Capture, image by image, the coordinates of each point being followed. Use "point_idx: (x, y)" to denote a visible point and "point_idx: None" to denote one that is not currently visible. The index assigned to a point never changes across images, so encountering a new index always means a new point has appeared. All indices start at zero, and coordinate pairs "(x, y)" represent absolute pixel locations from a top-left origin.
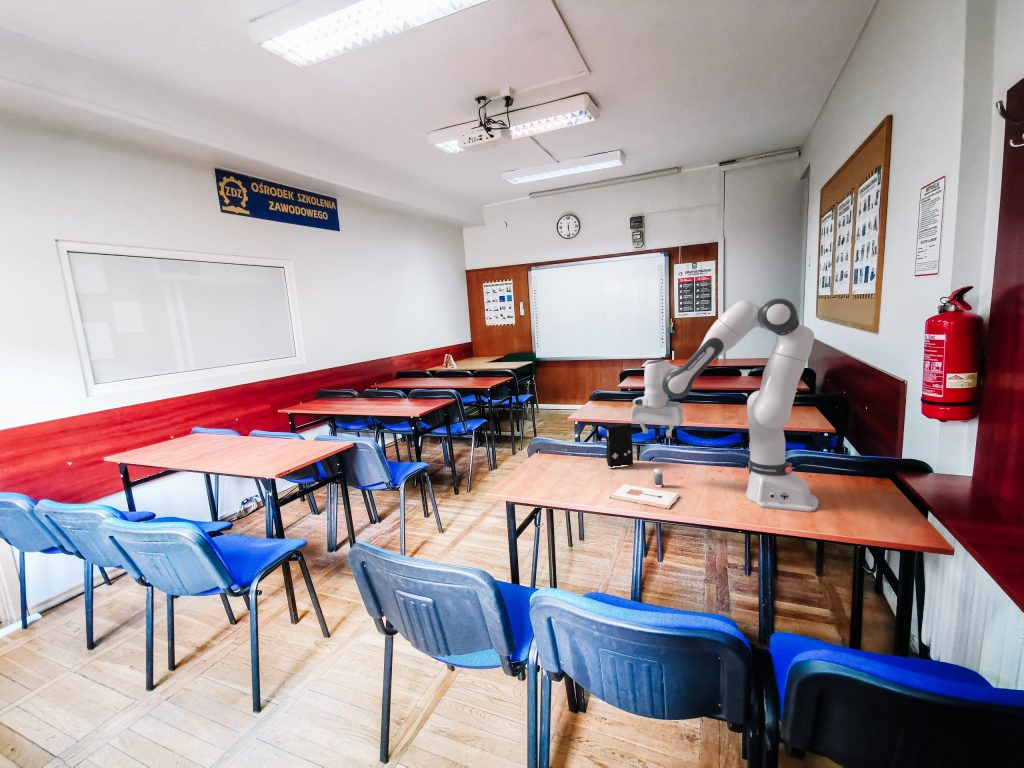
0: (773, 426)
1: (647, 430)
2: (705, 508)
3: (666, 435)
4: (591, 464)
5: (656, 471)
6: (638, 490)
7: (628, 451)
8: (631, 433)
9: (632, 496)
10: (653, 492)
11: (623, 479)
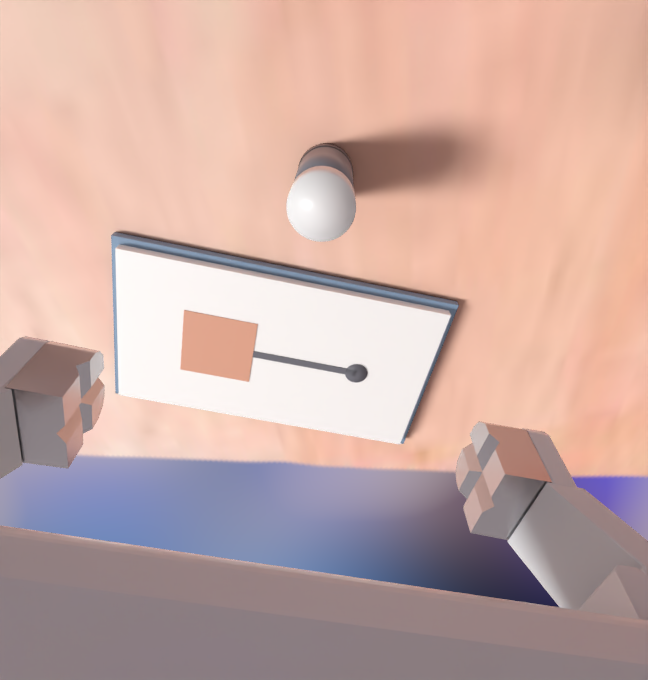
0: None
1: (76, 370)
2: (563, 399)
3: (462, 468)
4: None
5: (311, 239)
6: (230, 322)
7: None
8: None
9: (224, 393)
10: (315, 327)
11: (52, 91)
